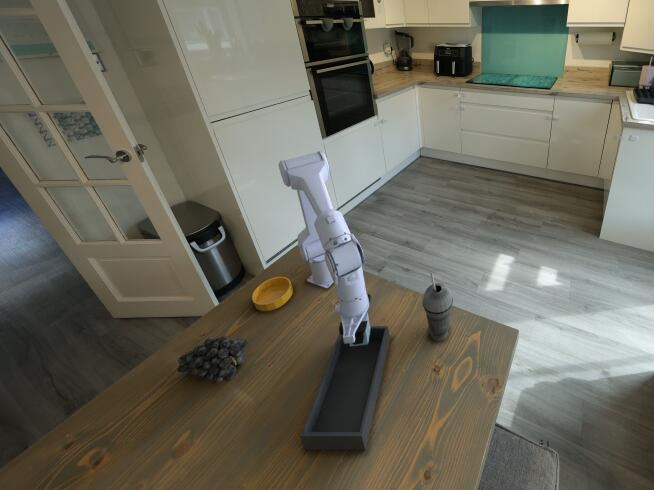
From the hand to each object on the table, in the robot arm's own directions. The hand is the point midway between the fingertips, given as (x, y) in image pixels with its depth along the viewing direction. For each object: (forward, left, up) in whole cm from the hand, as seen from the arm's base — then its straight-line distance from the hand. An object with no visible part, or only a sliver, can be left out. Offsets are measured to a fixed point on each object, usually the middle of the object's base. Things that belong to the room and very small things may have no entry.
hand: (360, 333), depth 71 cm
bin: (+7, +3, -7) cm, 10 cm away
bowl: (-3, -33, -7) cm, 34 cm away
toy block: (0, 0, -1) cm, 1 cm away
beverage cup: (-11, +15, -7) cm, 20 cm away
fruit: (+15, -29, -7) cm, 34 cm away
